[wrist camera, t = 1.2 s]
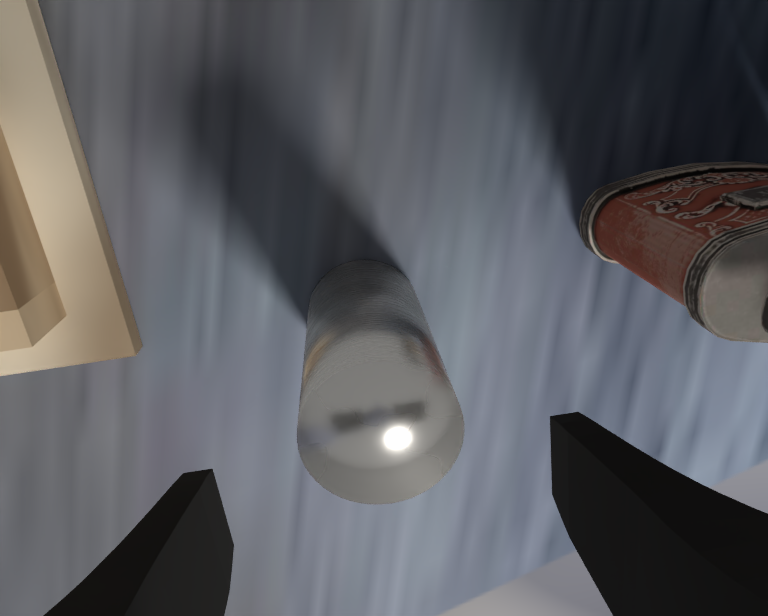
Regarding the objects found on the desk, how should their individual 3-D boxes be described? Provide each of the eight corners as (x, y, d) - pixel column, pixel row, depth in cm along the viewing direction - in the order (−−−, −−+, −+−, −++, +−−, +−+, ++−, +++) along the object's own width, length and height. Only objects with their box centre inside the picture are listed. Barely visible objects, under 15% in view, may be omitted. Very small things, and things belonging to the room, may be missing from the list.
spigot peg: (318, 369, 22) (312, 515, 15) (299, 268, 21) (282, 374, 14) (424, 353, 23) (470, 490, 15) (412, 251, 21) (457, 348, 14)
